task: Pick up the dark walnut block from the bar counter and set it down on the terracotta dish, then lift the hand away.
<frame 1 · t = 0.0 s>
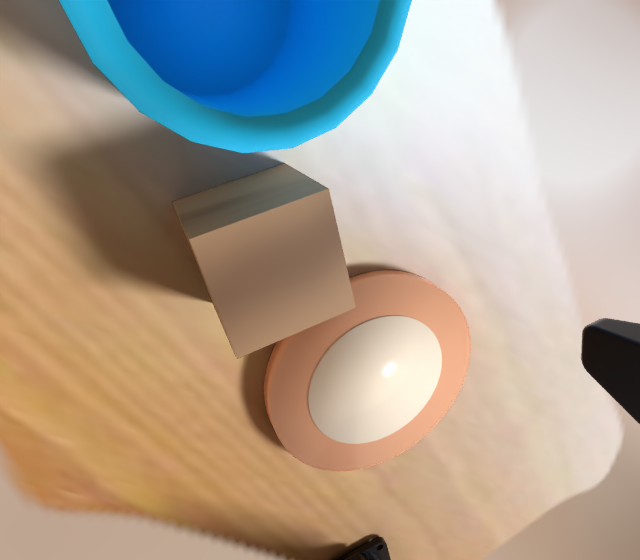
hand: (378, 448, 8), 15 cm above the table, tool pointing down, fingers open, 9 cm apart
walnut block: (247, 234, 22), on the table
terracotta dish: (367, 369, 27), on the table
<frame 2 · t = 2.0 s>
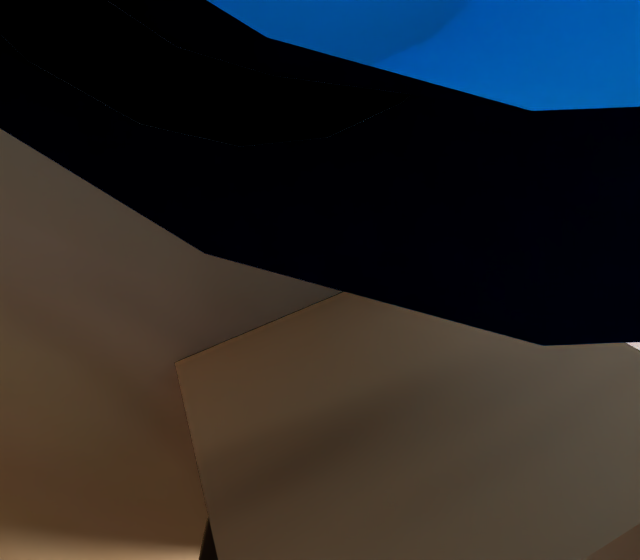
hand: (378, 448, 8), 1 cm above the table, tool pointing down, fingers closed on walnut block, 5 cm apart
walnut block: (351, 410, 9), on the table, touching gripper
when the fingers open (3 cm above the table, at t = 6.5 s): walnut block drops 1 cm, resting on terracotta dish.
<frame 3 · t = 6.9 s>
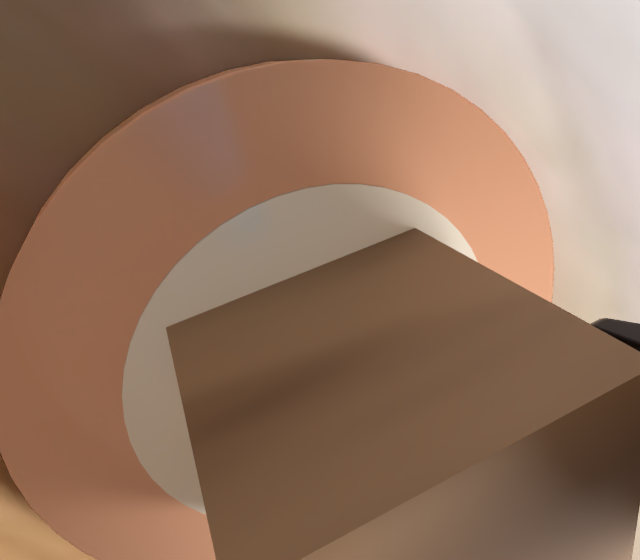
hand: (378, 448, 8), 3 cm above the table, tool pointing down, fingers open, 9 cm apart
walnut block: (327, 376, 10), point 1 cm above the table, touching terracotta dish
terracotta dish: (307, 344, 11), on the table
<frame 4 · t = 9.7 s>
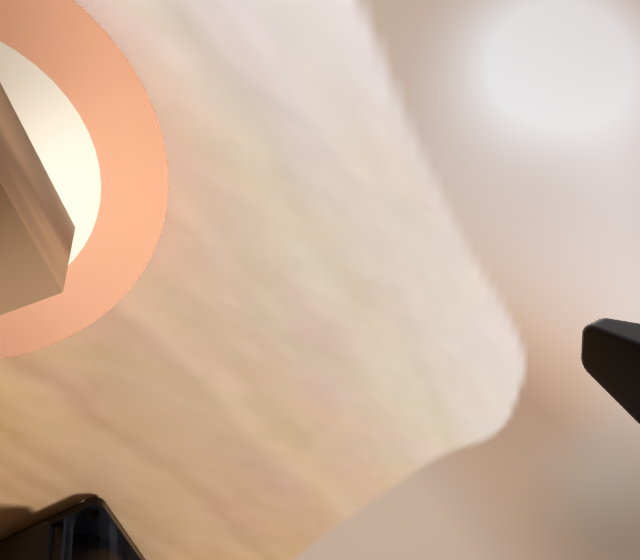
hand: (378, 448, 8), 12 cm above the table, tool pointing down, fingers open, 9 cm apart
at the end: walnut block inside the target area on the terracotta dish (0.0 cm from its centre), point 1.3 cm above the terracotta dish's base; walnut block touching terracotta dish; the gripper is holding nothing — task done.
